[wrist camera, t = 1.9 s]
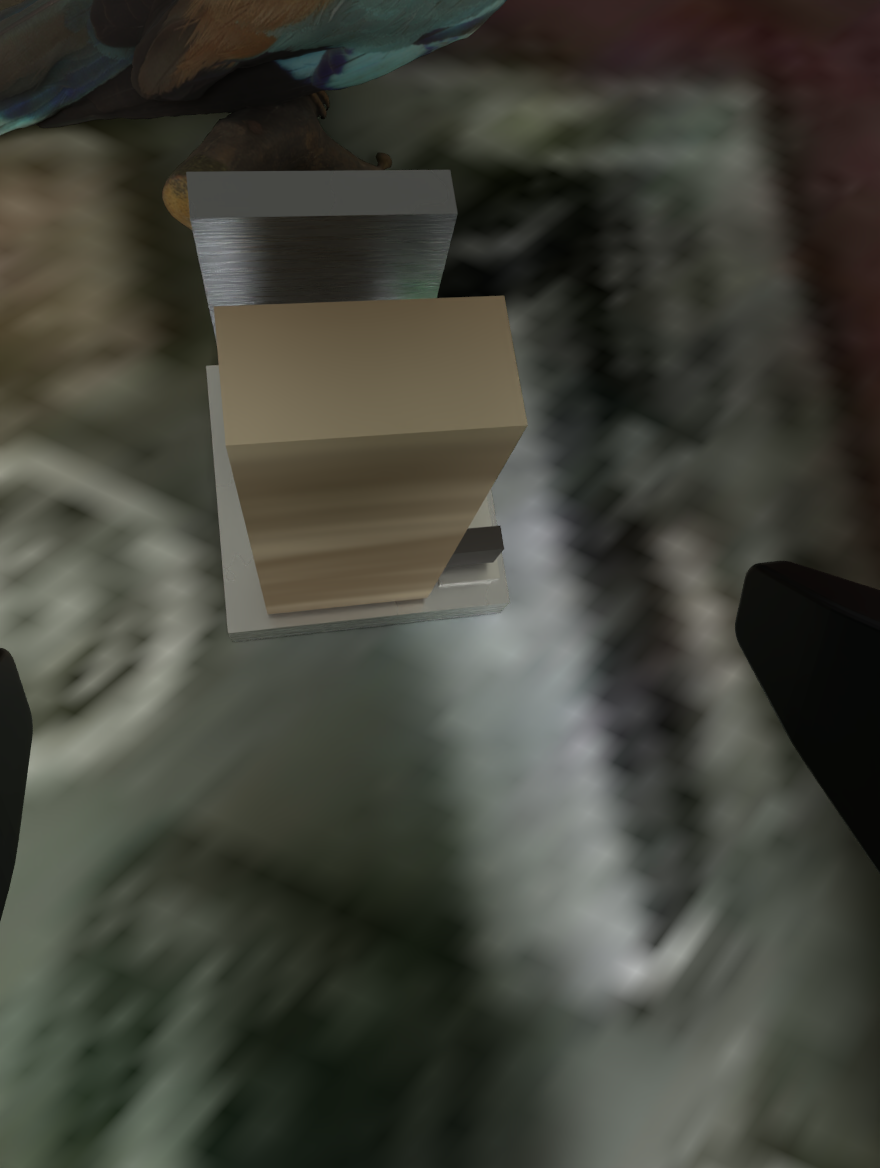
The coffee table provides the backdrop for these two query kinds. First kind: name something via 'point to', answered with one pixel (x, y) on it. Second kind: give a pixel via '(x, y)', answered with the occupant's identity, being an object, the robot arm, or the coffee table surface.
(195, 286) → the coffee table surface
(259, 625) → the gauge base
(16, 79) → the bird figurine
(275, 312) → the light brown wooden block
